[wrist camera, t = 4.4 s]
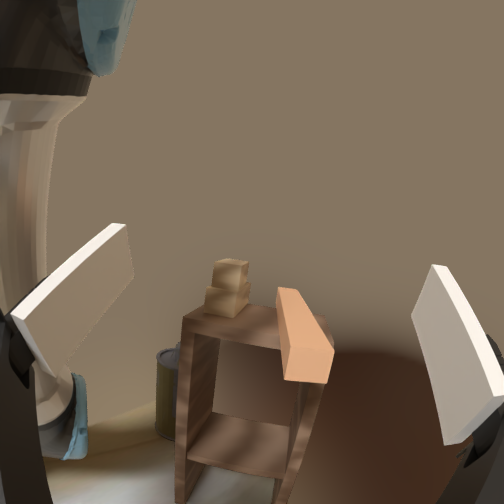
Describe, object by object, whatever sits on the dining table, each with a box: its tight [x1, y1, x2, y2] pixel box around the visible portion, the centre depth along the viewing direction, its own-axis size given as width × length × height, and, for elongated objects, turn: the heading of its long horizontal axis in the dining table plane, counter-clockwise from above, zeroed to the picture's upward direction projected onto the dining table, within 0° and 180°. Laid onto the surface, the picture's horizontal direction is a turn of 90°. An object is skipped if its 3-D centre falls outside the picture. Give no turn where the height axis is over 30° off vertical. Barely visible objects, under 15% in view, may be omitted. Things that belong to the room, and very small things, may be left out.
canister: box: [155, 341, 181, 441], centre depth 53 cm, size 11×10×20 cm
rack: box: [175, 259, 334, 504], centre depth 37 cm, size 16×14×38 cm
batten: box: [276, 287, 334, 383], centre depth 33 cm, size 28×3×2 cm, turn 177°
